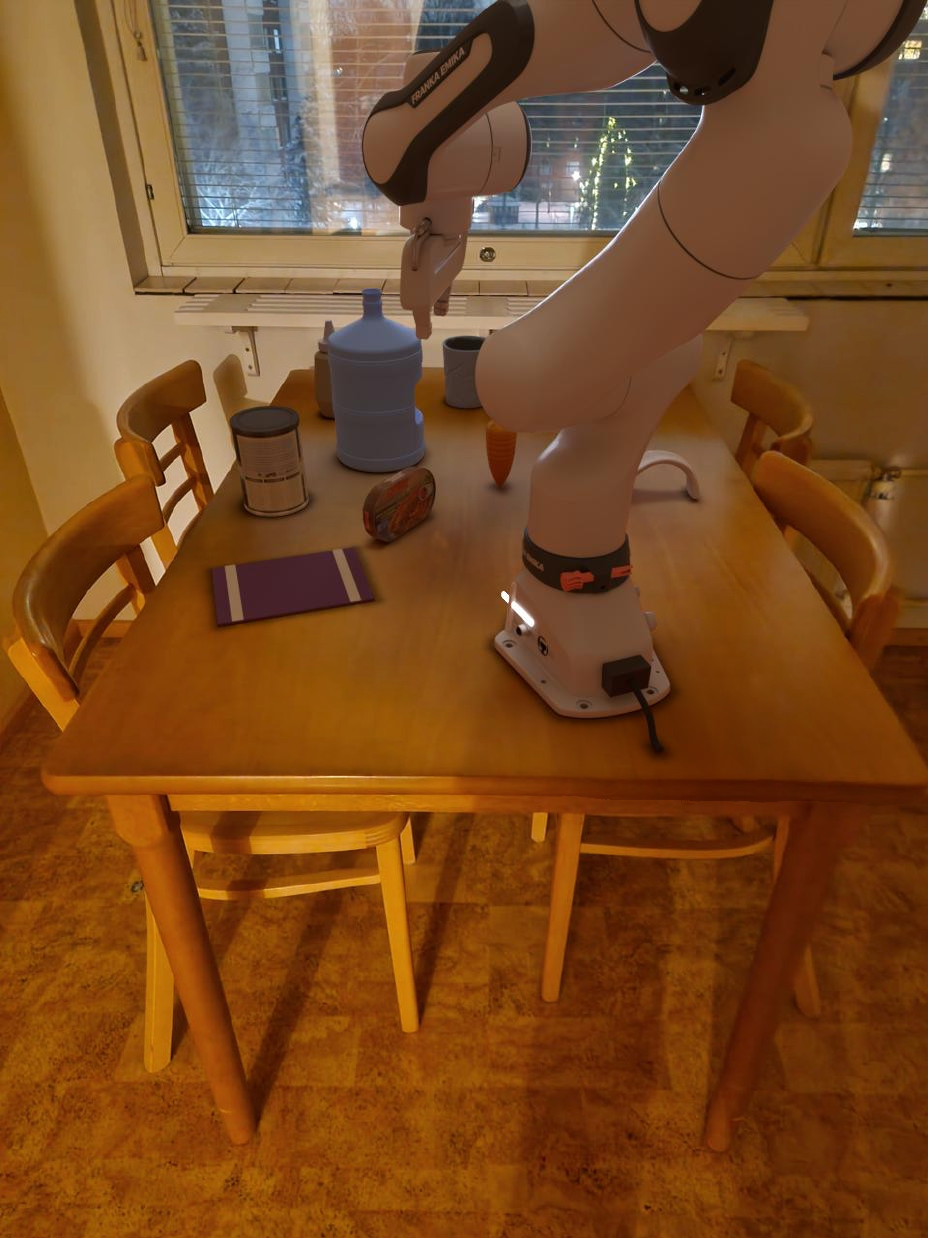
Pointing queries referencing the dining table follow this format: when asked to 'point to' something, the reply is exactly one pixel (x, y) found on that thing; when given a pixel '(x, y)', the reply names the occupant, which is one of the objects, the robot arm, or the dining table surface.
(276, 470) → the coffee can
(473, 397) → the grey cup
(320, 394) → the squeeze bottle
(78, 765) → the dining table surface
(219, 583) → the cloth
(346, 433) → the water jug
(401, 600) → the dining table surface
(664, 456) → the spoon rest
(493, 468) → the carrot
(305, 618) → the dining table surface
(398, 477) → the tin
